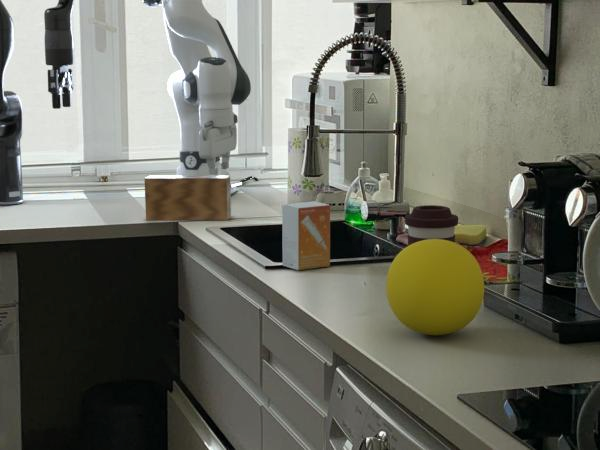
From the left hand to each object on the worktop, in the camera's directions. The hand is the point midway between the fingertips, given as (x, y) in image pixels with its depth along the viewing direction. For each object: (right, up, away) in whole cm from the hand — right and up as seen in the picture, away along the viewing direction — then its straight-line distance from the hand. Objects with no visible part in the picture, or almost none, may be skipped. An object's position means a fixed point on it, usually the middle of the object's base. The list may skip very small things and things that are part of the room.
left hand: (62, 107), depth 285 cm
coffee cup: (+90, -44, -87) cm, 132 cm away
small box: (+66, -41, -68) cm, 103 cm away
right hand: (+43, -18, -6) cm, 47 cm away
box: (+35, -30, -4) cm, 46 cm away
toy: (+86, -49, -119) cm, 155 cm away
